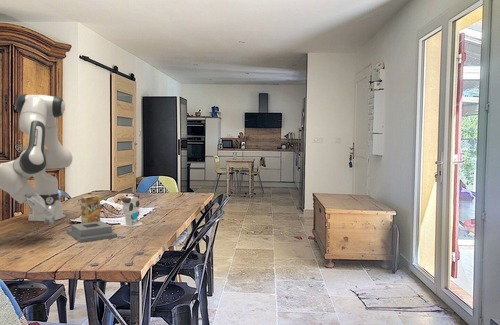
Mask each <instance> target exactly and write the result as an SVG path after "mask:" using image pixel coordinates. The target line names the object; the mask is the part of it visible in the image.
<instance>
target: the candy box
mask: <svg viewBox="0 0 500 325" xmlns="http://www.w3.org/2000/svg"><path fill="white" fill-rule="evenodd" d="M80 212H81V213H80V217H81V218H80V220H81V223H80V224H82V223H90V222H98V221H101V196H100V195H89V196H83V197H82V196H81V197H80Z"/></svg>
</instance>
